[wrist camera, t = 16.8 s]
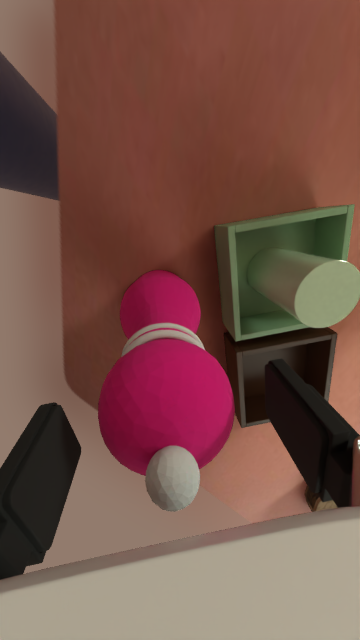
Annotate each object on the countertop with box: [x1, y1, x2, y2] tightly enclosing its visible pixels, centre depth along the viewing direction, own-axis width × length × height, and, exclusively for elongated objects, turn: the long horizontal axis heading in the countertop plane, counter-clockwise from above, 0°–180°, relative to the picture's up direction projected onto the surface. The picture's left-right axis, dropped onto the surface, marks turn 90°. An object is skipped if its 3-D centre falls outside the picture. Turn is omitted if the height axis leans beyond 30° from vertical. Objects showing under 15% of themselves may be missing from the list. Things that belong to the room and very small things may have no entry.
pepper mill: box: [98, 270, 235, 511], centre depth 16 cm, size 7×7×20 cm
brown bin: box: [224, 327, 337, 428], centre depth 28 cm, size 11×11×5 cm
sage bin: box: [214, 204, 355, 341], centre depth 23 cm, size 11×11×5 cm
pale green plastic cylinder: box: [247, 247, 360, 328], centre depth 20 cm, size 5×5×9 cm
